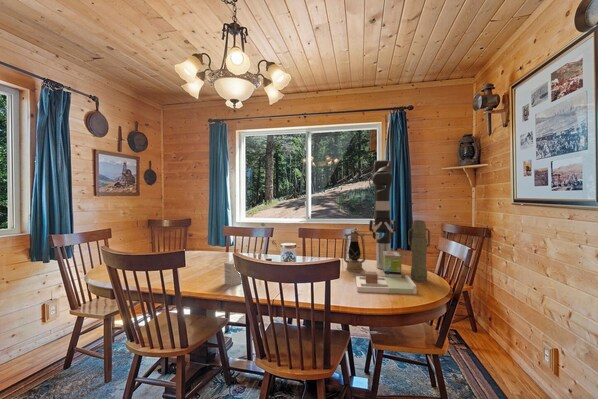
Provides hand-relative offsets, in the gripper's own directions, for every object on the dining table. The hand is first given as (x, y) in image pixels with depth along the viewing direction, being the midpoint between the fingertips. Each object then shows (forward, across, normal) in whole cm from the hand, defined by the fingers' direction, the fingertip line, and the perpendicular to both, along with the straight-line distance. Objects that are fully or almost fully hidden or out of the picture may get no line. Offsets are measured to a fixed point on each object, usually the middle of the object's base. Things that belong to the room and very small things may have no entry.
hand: (382, 239), depth 161 cm
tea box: (+27, -8, -22) cm, 35 cm away
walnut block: (+24, +6, -1) cm, 25 cm away
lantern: (+26, +13, -37) cm, 48 cm away
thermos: (+26, -23, -17) cm, 39 cm away
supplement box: (+27, +84, +2) cm, 88 cm away
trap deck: (+26, -1, -1) cm, 26 cm away
